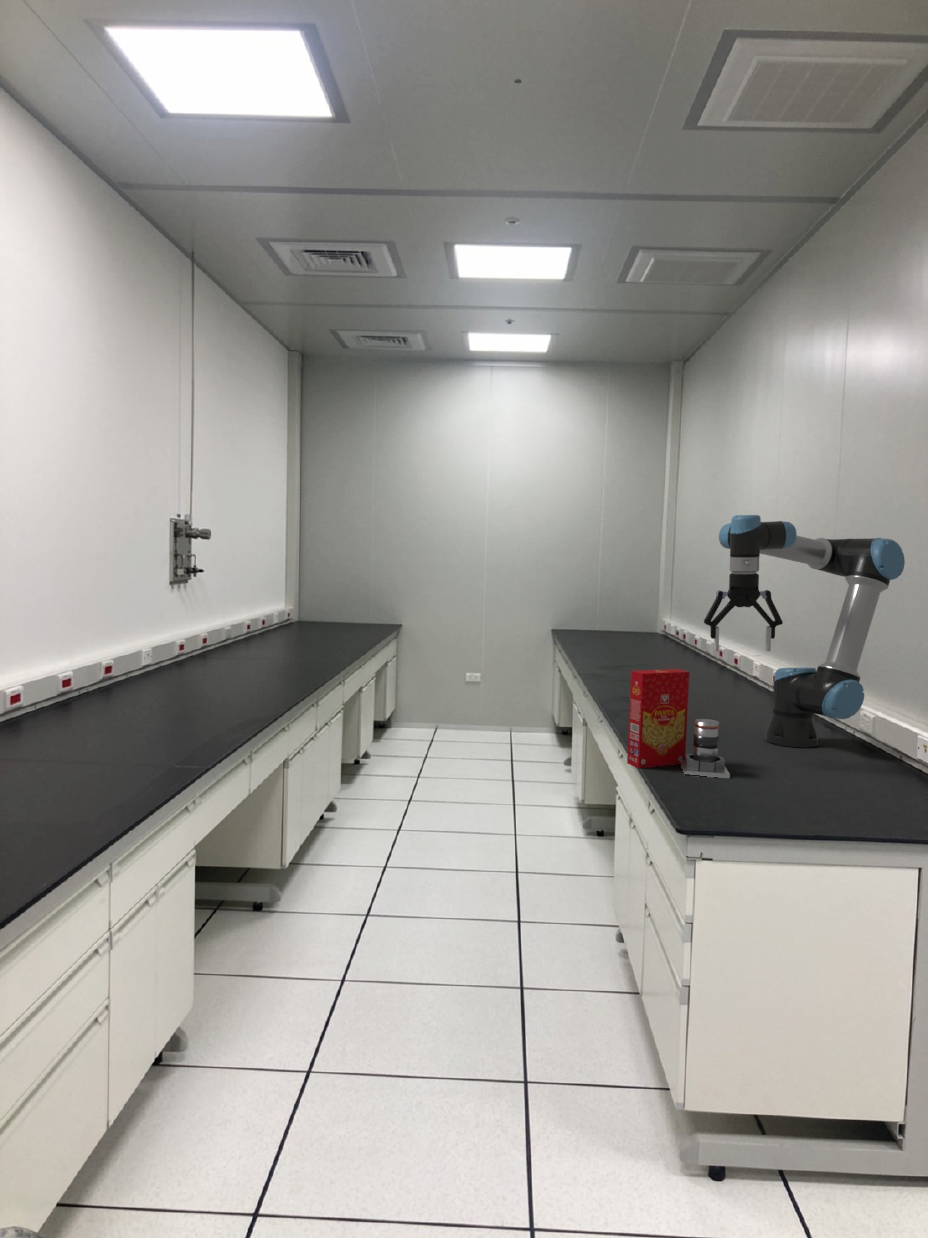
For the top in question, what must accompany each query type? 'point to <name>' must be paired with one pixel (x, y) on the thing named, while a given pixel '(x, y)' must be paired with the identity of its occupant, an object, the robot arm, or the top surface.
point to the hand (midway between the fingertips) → (742, 650)
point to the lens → (706, 740)
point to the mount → (704, 767)
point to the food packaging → (657, 717)
